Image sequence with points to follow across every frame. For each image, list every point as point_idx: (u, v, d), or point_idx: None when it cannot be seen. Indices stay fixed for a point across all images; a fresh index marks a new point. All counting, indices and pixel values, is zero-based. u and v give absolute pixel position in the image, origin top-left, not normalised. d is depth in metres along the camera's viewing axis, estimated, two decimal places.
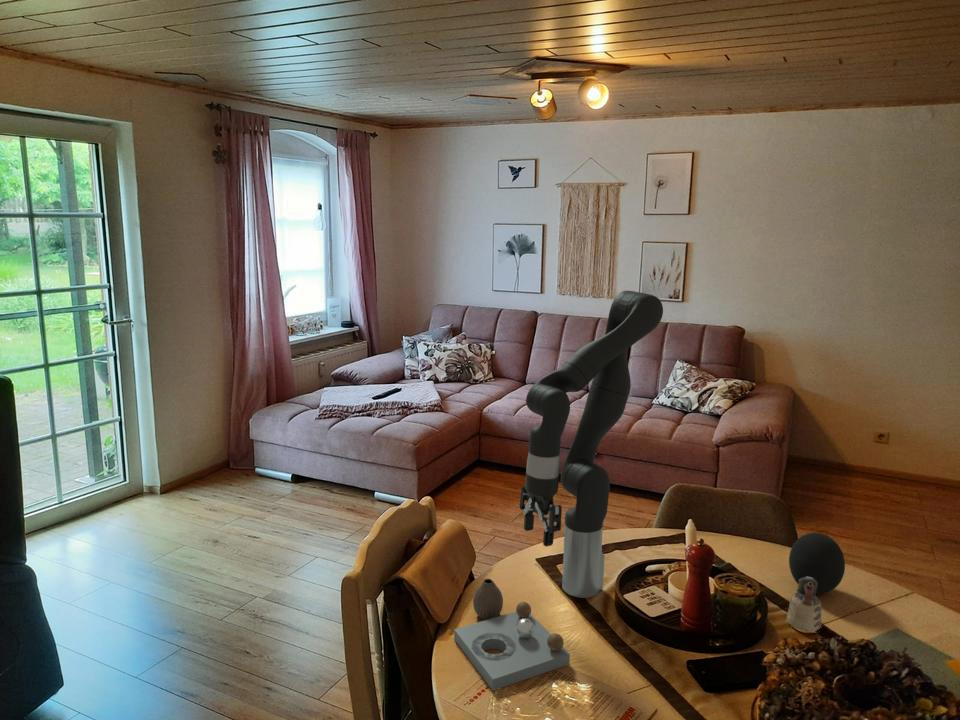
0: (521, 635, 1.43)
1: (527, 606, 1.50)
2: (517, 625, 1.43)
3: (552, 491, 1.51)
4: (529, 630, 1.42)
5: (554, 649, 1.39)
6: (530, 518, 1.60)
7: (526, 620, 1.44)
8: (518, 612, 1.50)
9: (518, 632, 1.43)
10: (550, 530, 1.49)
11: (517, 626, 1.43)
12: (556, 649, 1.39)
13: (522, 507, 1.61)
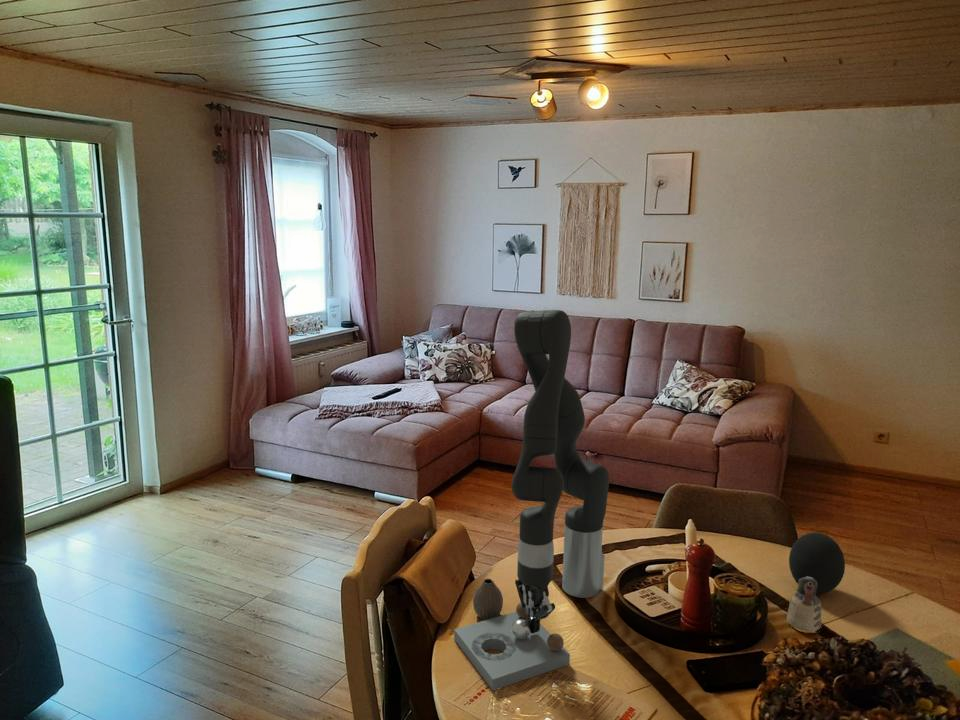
0: (519, 638, 1.42)
1: None
2: (512, 630, 1.43)
3: (546, 580, 1.39)
4: (524, 631, 1.42)
5: (554, 649, 1.39)
6: None
7: (518, 623, 1.43)
8: (518, 612, 1.50)
9: (515, 637, 1.43)
10: (536, 618, 1.41)
11: (512, 631, 1.43)
12: (556, 649, 1.39)
13: (524, 603, 1.46)
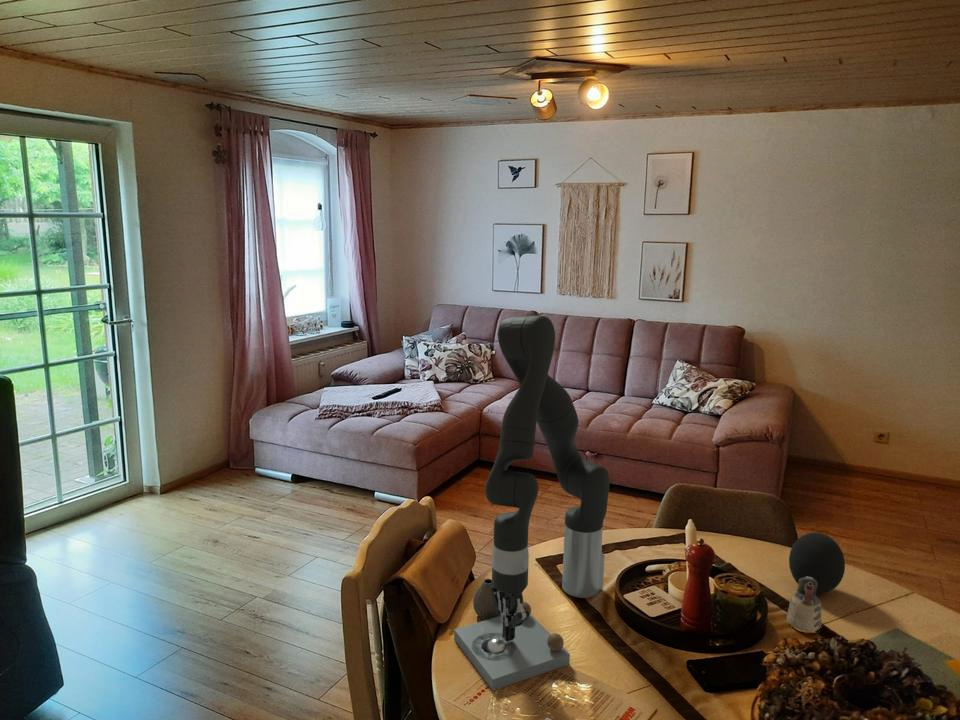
0: None
1: (527, 606, 1.50)
2: None
3: (520, 587, 1.37)
4: None
5: (554, 649, 1.39)
6: None
7: None
8: None
9: None
10: (510, 626, 1.39)
11: None
12: (556, 649, 1.39)
13: (499, 611, 1.43)
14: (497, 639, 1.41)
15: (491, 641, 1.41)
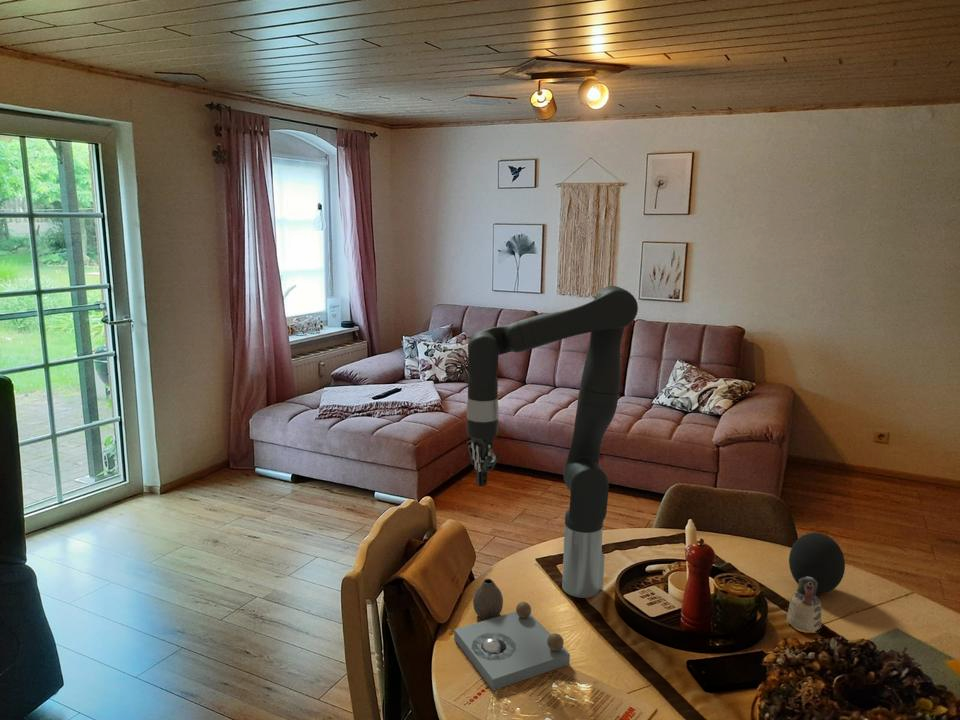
0: (500, 648, 1.41)
1: (527, 606, 1.50)
2: None
3: (491, 434, 1.57)
4: None
5: (554, 649, 1.39)
6: None
7: None
8: (518, 612, 1.50)
9: None
10: (482, 470, 1.59)
11: None
12: (556, 649, 1.39)
13: (473, 461, 1.63)
14: (488, 639, 1.41)
15: (483, 643, 1.41)
